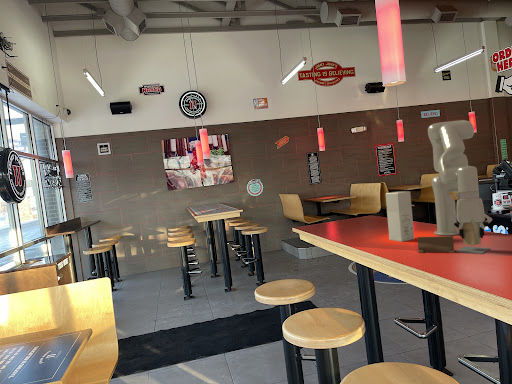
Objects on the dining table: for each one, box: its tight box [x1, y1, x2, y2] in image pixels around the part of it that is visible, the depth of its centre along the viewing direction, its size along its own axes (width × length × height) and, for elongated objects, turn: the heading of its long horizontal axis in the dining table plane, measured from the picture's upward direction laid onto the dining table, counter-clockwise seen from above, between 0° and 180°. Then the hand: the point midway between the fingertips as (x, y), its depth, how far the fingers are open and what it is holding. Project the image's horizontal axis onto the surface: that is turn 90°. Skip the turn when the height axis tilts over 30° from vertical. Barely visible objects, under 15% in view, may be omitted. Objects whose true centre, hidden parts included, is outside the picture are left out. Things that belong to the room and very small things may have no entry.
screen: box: [417, 235, 455, 254], centre depth 164 cm, size 5×14×6 cm, turn 65°
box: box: [462, 219, 482, 246], centre depth 160 cm, size 5×4×11 cm
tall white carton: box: [385, 191, 415, 243], centre depth 198 cm, size 9×9×25 cm
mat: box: [456, 246, 491, 255], centre depth 160 cm, size 10×10×1 cm
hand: (472, 237), depth 160 cm, fingers closed on box, 6 cm apart
